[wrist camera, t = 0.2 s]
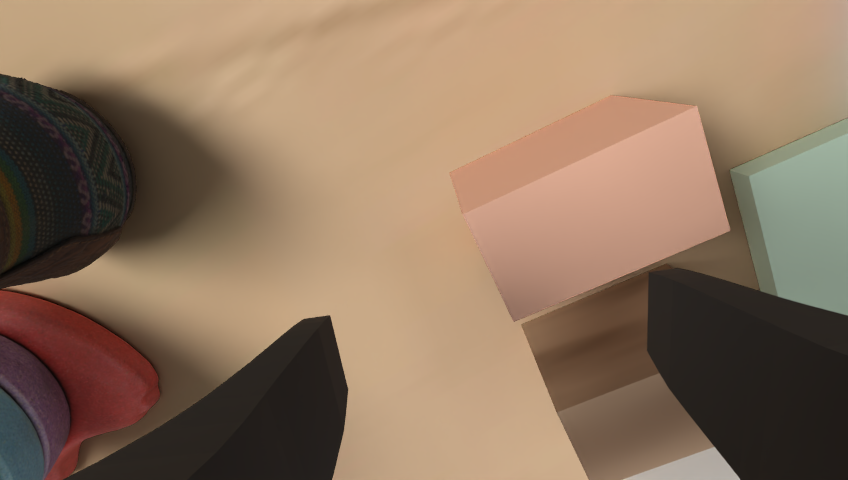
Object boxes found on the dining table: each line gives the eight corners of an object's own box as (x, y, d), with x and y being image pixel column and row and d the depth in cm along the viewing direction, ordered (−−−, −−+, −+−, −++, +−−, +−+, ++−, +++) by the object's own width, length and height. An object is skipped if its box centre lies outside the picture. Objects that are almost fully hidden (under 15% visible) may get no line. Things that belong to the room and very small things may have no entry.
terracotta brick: (639, 184, 19) (730, 230, 14) (487, 252, 20) (513, 322, 15) (610, 95, 18) (697, 106, 13) (449, 172, 19) (462, 214, 14)
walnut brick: (688, 332, 22) (781, 422, 16) (550, 386, 23) (593, 489, 17) (665, 263, 21) (758, 334, 15) (520, 323, 22) (556, 412, 16)
